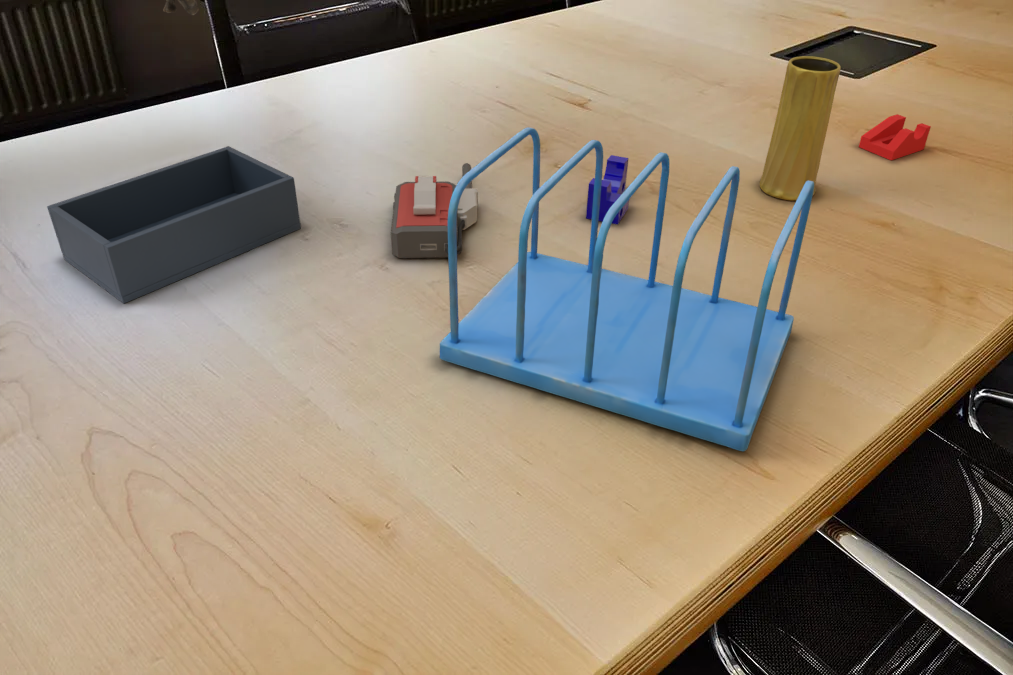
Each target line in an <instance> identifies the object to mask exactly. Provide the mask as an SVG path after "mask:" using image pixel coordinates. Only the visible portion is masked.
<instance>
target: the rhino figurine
mask: <svg viewBox="0 0 1013 675" xmlns="http://www.w3.org/2000/svg"><path fill="white" fill-rule="evenodd" d="M165 1H166V2H165V5H164V7H163V9H162V10H163V12H165V13H167V14H172V13H177V10H178V8H177V7H176V0H165ZM177 3H179V4H180V5H181V6H182V8H183V9H184V11H185V12H186V13H187V14H189V15H191V16H195V15H196V14H197V13H198V12H199V11H200V9H199V5H198V2H197V0H177Z"/></svg>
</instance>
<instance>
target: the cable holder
mask: <svg viewBox="0 0 1013 675" xmlns="http://www.w3.org/2000/svg"><path fill="white" fill-rule="evenodd" d="M628 165H629V157H624V156H618V155H614V154H610V155H609V156H608V158H607V159H606V164H605V172H604V175H603V177H602V183H601V196H600V208H599V220H598V222H601V223H602V222H603V220H604V217H605V216H606V214H607V212H608V210H609V209H610V207H611V206H612V205H613V204H614V203H615V202H616V200H617V199H618V198H619V197H620V196H621V195H622V193H623V192H624V191H625V190H626V186H627V176H628V167H629V166H628ZM594 183H595V177H592V179H591V180H590V181H589V183H588V186H587V199H586V211H585V212H586V213H585V219H587V220H592V209H593V195H594ZM629 206H630V199H629V200H628V201H627V203H626V204H625V205H624V206H623V207H622V209H621V210H620V211H619V212H618V213H617V215H616V216H615V218H614V219H613V221H612V223H611V225H612V224H613V225H617V226H618V225H619V224H620V222H621V221H622V219H623V218H624V216H625V215H626V213H627V211H628V210H629Z"/></svg>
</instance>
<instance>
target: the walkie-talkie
mask: <svg viewBox="0 0 1013 675" xmlns="http://www.w3.org/2000/svg"><path fill="white" fill-rule="evenodd" d="M461 168H462V169H461V174H462V175H461V176H462V177H463V176H464V175H465V174H466V173H467V172H469V171H470V170H471V169H472V165H471V164H470V163H469V162H464V163H463V164H462V166H461ZM462 177H461V178H462ZM456 186H457V184H456V183H453V182H451V181H446V180H445V181H440V180H439V181H437V175H415V176H414V181H404V182H402V183H399V184H397V185H396V186H395V192H394V196H393V199H394V200H393V203H392V210H393V211H392V219H391V220H392V221H391V228H390V242H391V254H392V255H393V256H394V257H396V258H399V259H448V210H449V204H450V200H451V197H452V194H453V192H454V189H455V187H456ZM478 207H479V191H478V188H473V180H472V181H471V182H470V183H469V184H468V185H467V186H466V187H465V189H464V191H463V193H462V195H461V198H460V201H459V205H458V209H457V218H456V238H457V256H458V255H460V254H461V253H462V251H463V235H462V234H463V231H465V230H466V229H468V228H470V227H471V226H472V225H473V224H476V222H477V221H478Z"/></svg>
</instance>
